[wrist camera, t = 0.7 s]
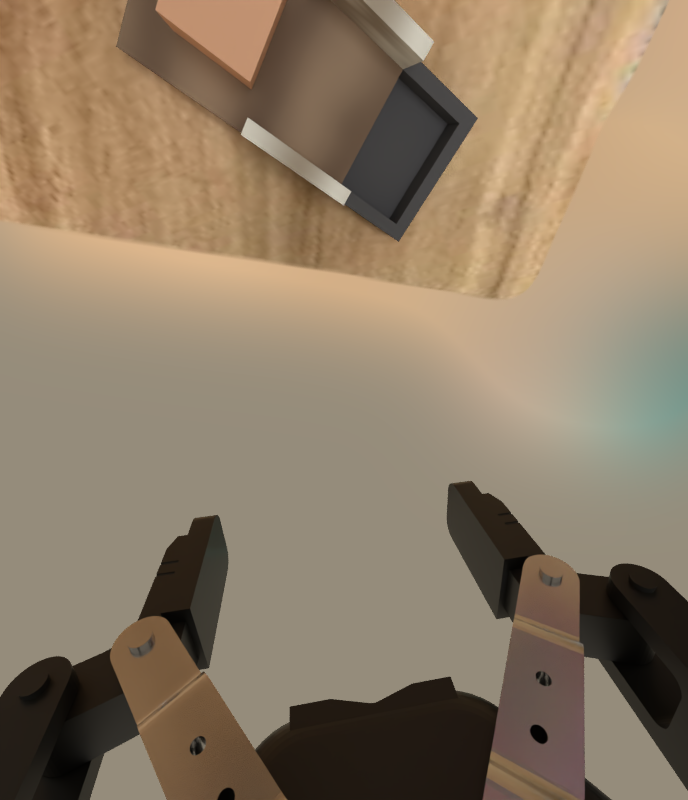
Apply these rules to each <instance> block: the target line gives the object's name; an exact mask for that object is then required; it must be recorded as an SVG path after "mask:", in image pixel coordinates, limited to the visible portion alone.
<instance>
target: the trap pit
mask: <svg viewBox="0 0 688 800" xmlns="http://www.w3.org/2000/svg"><path fill="white" fill-rule="evenodd" d="M477 119H478V118H477V117H476V116H475V115H474V114H473V113H472V112H471V111H470V110H469V109H468V108H467V107H466V106H465V105H464V104H463V103H462V102H461V101H460V100H459V99H458V98H457V97H456V96H455V95H454V94H453V93H452V92H451V91H450V90H449V89H448V88H447V87H446V86H445V85H444V84H443V83H442V82H441V81H440V80H439V79H438V78H437V77H436V76H435V75H434V74H433V73H432V72H431V71H430V70H429V69H428V68H427V67H426V66H425V65H424V64H423V63H422V62H420V63H417V64H415V65H412V66H410V67H408V68H405V69H403V70H402V72H401V74H400V76H399V78H398V80H397V81H396V83H395V85H394V87H393V89H392V91H391V93H390V95H389V96H388V98H387V100H386V102H385V104H384V106H383V108H382V109H381V111H380V113H379V115H378V117H377V119H376V121H375V122H374V124H373V126H372V128H371V130H370V132H369V134H368V135H367V137H366V139H365V141H364V143H363V145H362V147H361V149H360V150H359V152H358V154H357V156H356V158H355V160H354V162H353V163H352V165H351V167H350V169H349V171H348V173H347V175H346V176H345V178H344V180H343V182H342V185H343V186H344V187H346V188H347V189H349V190H350V191H351V193H350V195H349V197H348V198H347V200H346V202H345V205H346V206H348V207H349V208H351V209H352V210H354V211H355V212H356V213H358V214H359V215H361V216H362V217H364V218H365V219H367V220H368V221H369V222H371V223H372V224H374V225H375V226H377V227H378V228H380V229H381V230H382V231H384V232H385V233H387V234H388V235H390V236H391V237H393V238H394V239H395V240H397V241H398V242H399V240H400V239H401V237H402V236H403V234H404V232H405V231H406V229H407V228H408V226H409V225H410V223H411V222H412V220H413V218H414V217H415V215H416V214H417V212H418V211H419V209H420V208H421V206H422V204H423V203H424V201H425V200H426V198H427V197H428V195H429V194H430V192H431V190H432V189H433V187H434V186H435V184H436V183H437V181H438V179H439V178H440V176H441V175H442V173H443V172H444V170H445V169H446V167H447V165H448V164H449V162H450V161H451V159H452V158H453V156H454V155H455V153H456V151H457V150H458V148H459V147H460V145H461V144H462V142H463V141H464V139H465V137H466V136H467V134H468V133H469V131H470V130H471V128H472V127H473V125H474V123H475V122H476V120H477Z"/></svg>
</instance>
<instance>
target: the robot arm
mask: <svg viewBox="0 0 688 800" xmlns="http://www.w3.org/2000/svg"><path fill="white" fill-rule="evenodd" d="M447 524H448V529H449V532H450V535H451V537H452V539H453V541H454V543H455V545H456V546H457V548H458V550H459V552H460V554H461V555H462V557H463V559H464V561H465V563H466V564H467V566H468V568H469V570H470V571H471V574H472V575H473V577H474V579H475V581H476V583H477V584H478V586H479V588H480V590H481V591H482V594H483V595H484V597H485V599H486V601H487V603H488V604H489V606H490V608H491V610H492V612H493V613H494V615H495V617H496V619H500V618H505V617H510V619H511V620H512V622H513V627H512V633H511V639H510V644H509V650H508V656H507V662H506V668H505V673H504V680H503V686H502V691H501V697H500V703H499V708H498V707H497V706H495V705H494V704H492V703H491V702H489V701H487V700H485V699H483V698H481V697H478V696H475V695H473V694H469V693H465V692H460V691H456V690H455V688H454V685H453V682H452V680H451V677H446V678H440V679H435V680H429V681H424V682H420V683H413V684H411V685H409V686H407V687H405V688H403V689H401V690H399V691H397V692H395V693H394V694H392V695H390V696H388V697H386V698H384V699H382V700H380V701H378V702H376V703H362V702H353V701H343V700H334V699H328V700H323V701H318V702H313V703H308V704H302V705H297V706H291V707H290V722H289V723H287V724H285V725H283V726H281V727H280V728H279V729H277V730H276V731H274V732H273V733H272V734H270V735H269V736H268V737H267V738H266V739H265V740H264V741H263V742H262V743H261V744H260V745H259V746H258V747H257V748H256V749H254V748H253V746H252V744H251V743H250V741H249V740H248V738H247V737H246V735H245V734H244V732H243V730H242V729H241V727H240V726H239V724H238V723H237V721H236V719H235V718H234V716H233V715H232V713H231V712H230V710H229V708H228V707H227V705H226V704H225V702H224V701H223V699H222V698H221V696H220V694H219V693H218V691H217V690H216V688H215V687H214V685H213V683H212V682H211V680H210V679H209V678H208V676H207V675H206V673H205V672H202V673H201V672H200V671H199V670H200V669H206V668H209V665H210V660H211V655H212V649H213V644H214V639H215V633H216V628H217V623H218V618H219V613H220V607H221V602H222V597H223V592H224V586H225V581H226V576H227V570H228V551H227V546H226V542H225V538H224V534H223V530H222V526H221V522H220V518H219V516H218V515H214V516H207V517H200V518H195V519H194V520H193V522H192V524H191V527H190V530H189V533H188V535H184V536H178V537H177V538H176V539H175V540H174V542H173V543H172V544H171V545H170V546H169V547H168V548H167V550H166V552H165V555H164V557H163V560H162V562H161V565H160V567H159V569H158V572H157V577H155V579H154V582H153V584H152V587H151V589H150V592H149V594H148V597H147V599H146V602H145V604H144V607H143V609H142V612H141V614H140V617H139V619H138V621H137V622H135V623H133V624H132V625H130V626H129V627H127V628H126V629H125V630H124V631H123V632H122V633H121V634H120V635H119V636H118V638H117V639H116V641H115V643H114V644H113V646H112V648H111V649H109V650H107V651H105V652H104V653H102V654H99V655H97V656H95V657H92V658H90V659H88V660H85V661H84V662H81V663H79V664H76V665H74V666H72V665H71V663H70V661H69V660H68V659H66V658H65V657H59V656H58V657H57V656H56V657H50V658H46V659H44V660H41V661H39V662H37V663H35V664H33V665H32V666H30V667H28V668H27V669H26V670H24V671H23V672H22V673H20V674H19V675H18V676H17V677H16V678H15V679H14V680H13V681H12V682H11V683H10V684H9V685H8V687H7V688H6V689H5V691H4V692H3V694H2V695H1V697H0V800H90V797H91V794H92V790H93V787H94V784H95V781H96V778H97V774H98V771H99V768H100V765H101V762H102V758H103V756H104V753H105V752H107V751H109V750H111V749H113V748H115V747H117V746H119V745H120V744H122V743H124V742H126V741H128V740H130V739H132V738H134V737H135V736H137V735H139V734H140V736H141V738H142V740H143V743H144V745H145V748H146V750H147V753H148V755H149V757H150V760H151V762H152V765H153V767H154V770H155V772H156V775H157V777H158V779H159V782H160V784H161V787H162V789H163V792H164V794H165V796H166V799H167V800H611V799H610V798H609V797H608V796H606V795H605V794H604V793H603V792H601V791H600V790H599V789H598V788H597V787H596V786H594V785H593V784H592V783H591V782H589V781H588V780H587V779H586V778H585V760H584V757H585V756H584V754H585V752H584V657H590V658H596V659H599V661H600V662H601V664H602V665H603V667H604V668H605V670H606V671H607V672H608V674H609V675H610V677H611V678H612V680H613V681H614V683H615V684H616V686H617V687H618V689H619V690H620V692H621V693H622V695H623V696H624V697H625V699H626V700H627V702H628V703H629V705H630V706H631V708H632V709H633V711H634V712H635V713H636V715H637V717H638V718H639V720H640V721H641V723H642V724H643V726H644V727H645V728H646V730H647V731H648V733H649V734H650V736H651V737H652V739H653V740H654V742H655V743H656V745H657V746H658V747H659V749H660V751H661V752H662V753H663V755H664V756H665V758H666V759H667V761H668V762H669V764H670V765H671V767H672V768H673V770H674V771H675V773H676V774H677V776H678V777H679V778H680V780H681V781H682V783H683V784H684V786H685V787H686V789H687V790H688V602H687V600H686V599H685V598H684V597H683V596H681V595H680V594H679V593H678V592H677V591H676V590H675V589H674V588H673V587H672V586H671V585H670V584H669V583H668V582H667V581H666V580H665V579H664V578H662V577H661V576H660V575H658V574H657V573H655V572H653V571H651V570H649V569H647V568H644V567H642V566H638V565H634V564H618V565H616V566H614V567H613V568H612V569H611V572H610V576H609V577H604V576H595V575H587V574H579V573H576V572H575V571H574V570H573V568H571V566H569V565H568V564H567V563H565V562H563V561H562V560H560V559H558V558H555V557H553V556H549V555H545V553H544V552H543V551H542V550H541V549H540V547H539V546H538V545H537V544H536V542H535V541H534V540H533V539H532V538H531V536H530V535H529V534H528V533H527V531H526V530H525V529H524V528H523V527H522V525H521V524H520V523H518V521H517V519H516V518H515V517H514V516H513V515H512V514H511V512H510V511H509V510H508V508H507V507H506V506H505V505H504V504H503V503H502V501H500V500H499V499H497V498H495V497H494V496H492V495H491V494H489V493H487V494H482V493H481V492H480V491H479V489H478V488H477V487H476V486H475V484H474V483H473V482H472V481H467V482H459V483H452V484H450V485H449V488H448V505H447Z"/></svg>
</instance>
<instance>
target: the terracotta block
mask: <svg viewBox="0 0 688 800" xmlns="http://www.w3.org/2000/svg"><path fill="white" fill-rule="evenodd" d="M286 1H287V0H158V2H157V5H156V9H155V10H156V11H157V13H158V14H159V15H160V16H161V17H162V18H163V19H164V21H165V22H166V23H167V24H168V25H169V26H170V28H171V29H172V30H173V31H174V32H176V33H177V34H178V35H180V36H181V37H182V38H183V39H185V40H186V41H187V42H189V43H190V44H191V45H193V46H194V47H195V48H197V49H198V50H199V51H201V52H202V53H203V54H205V55H206V56H207V57H209V58H210V59H211V60H213V61H214V62H215V63H217V64H218V65H219V66H221V67H222V68H223V69H225V70H226V71H227V72H229V73H230V74H231V75H233V76H234V77H235V78H237V79H238V80H239V81H241V82H242V83H243V84H245V85H246V86H247V87H249V88H250V89H251V90H252V87H253V85H254V82H255V80H256V77H257V75H258V72H259V70H260V67H261V65H262V62H263V60H264V57H265V55H266V52H267V49H268V47H269V44H270V42H271V39H272V37H273V34H274V32H275V29H276V27H277V24H278V22H279V19H280V17H281V14H282V12H283V9H284V7H285V4H286Z"/></svg>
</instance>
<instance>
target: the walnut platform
mask: <svg viewBox="0 0 688 800" xmlns="http://www.w3.org/2000/svg"><path fill="white" fill-rule="evenodd" d="M157 2H158V0H128V1H127V5H126V9H125V13H124V17H123V21H122V25H121V29H120V33H119V37H118V41H117V45H116V47H118V48H119V49H121V50H122V51H123V52H125V53H126V54H128V55H129V56H131V57H132V58H134V59H135V60H136V61H138V62H139V63H141V64H142V65H144V66H145V67H147V68H148V69H150V70H151V71H152V72H154V73H155V74H157V75H158V76H160V77H161V78H163V79H164V80H165V81H167V82H168V83H170V84H171V85H173V86H174V87H176V88H177V89H178V90H180V91H181V92H183V93H184V94H186V95H187V96H189V97H190V98H191V99H193V100H194V101H196V102H197V103H199V104H200V105H202V106H203V107H205V108H206V109H207V110H209V111H210V112H212V113H213V114H215V115H216V116H218V117H219V118H220V119H222V120H223V121H225V122H226V123H228V124H229V125H231V126H232V127H233V128H235V129H236V130H238V131H239V132H241V135H242V136H243V137H245V138H246V139H248V140H249V141H251V142H252V143H254V144H255V145H256V146H258V147H259V148H261V149H262V150H264V151H265V152H267V153H268V154H269V155H271V156H272V157H274V158H275V159H277V160H278V161H280V162H281V163H283V164H284V165H285V166H287V167H288V168H290V169H291V170H293V171H294V172H296V173H297V174H299V175H300V176H301V177H303V178H304V179H306V180H307V181H309V182H310V183H312V184H313V185H315V186H316V187H317V188H319V189H320V190H322V191H323V192H325V193H326V194H328V195H329V196H330V197H332V198H333V199H335V200H336V201H338V202H339V203H341V204H342V205H344V204H345V202H346V200H347V198H348V197H349V195H350V193H351V191H350V190H349V189H347V188H346V187H344V186H343V185H342V182H343V180H344V178H345V176H346V175H347V173H348V171H349V169H350V167H351V165H352V163H353V162H354V160H355V158H356V156H357V154H358V152H359V150H360V149H361V147H362V145H363V143H364V141H365V139H366V137H367V135H368V134H369V132H370V130H371V128H372V126H373V124H374V122H375V121H376V119H377V117H378V115H379V113H380V111H381V109H382V108H383V106H384V104H385V102H386V100H387V98H388V96H389V95H390V93H391V91H392V89H393V87H394V85H395V83H396V81H397V80H398V78H399V76H400V74H401V72H402V70H403V69H405V68H408V67H410V66H412V65H415V64H417V63H420V62H422V61H424V59H425V57H426V55H427V54H428V52H429V50H430V48H431V46H432V45H433V43H434V41H433V40H432V39H431V38H430V37H429V36H428V35H427V34H426V33H425V32H424V31H423V30H422V29H421V28H420V26H419V25H418V24H417V23H416V22H415V21H414V20H413V19H412V18H411V17H410V16H409V15H408V14H407V13H406V12H405V11H404V10H403V9H402V8H401V7H400V6H399V5H398V3H397V2H396V1H395V0H287V1H286V4H285V7H284V9H283V12H282V14H281V17H280V19H279V22H278V24H277V27H276V29H275V32H274V34H273V37H272V39H271V42H270V44H269V47H268V49H267V52H266V55H265V57H264V60H263V62H262V65H261V67H260V70H259V72H258V75H257V77H256V80H255V82H254V85H253V87H252V90H251V89H250V88H249V87H247V86H246V85H245V84H243V83H242V82H241V81H239V80H238V79H237V78H235V77H234V76H233V75H231V74H230V73H229V72H227V71H226V70H225V69H223V68H222V67H221V66H219V65H218V64H217V63H215V62H214V61H213V60H211V59H210V58H209V57H207V56H206V55H205V54H203V53H202V52H201V51H199V50H198V49H197V48H195V47H194V46H193V45H191V44H190V43H189V42H187V41H186V40H185V39H183V38H182V37H181V36H180V35H178V34H177V33H176V32H174V31H173V30H172V29H171V28H170V26H169V25H168V24H167V23H166V22H165V21H164V19H163V18H162V17H161V16H160V15H159V14H158V13H157V11H156V10H155V9H156V5H157Z"/></svg>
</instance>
